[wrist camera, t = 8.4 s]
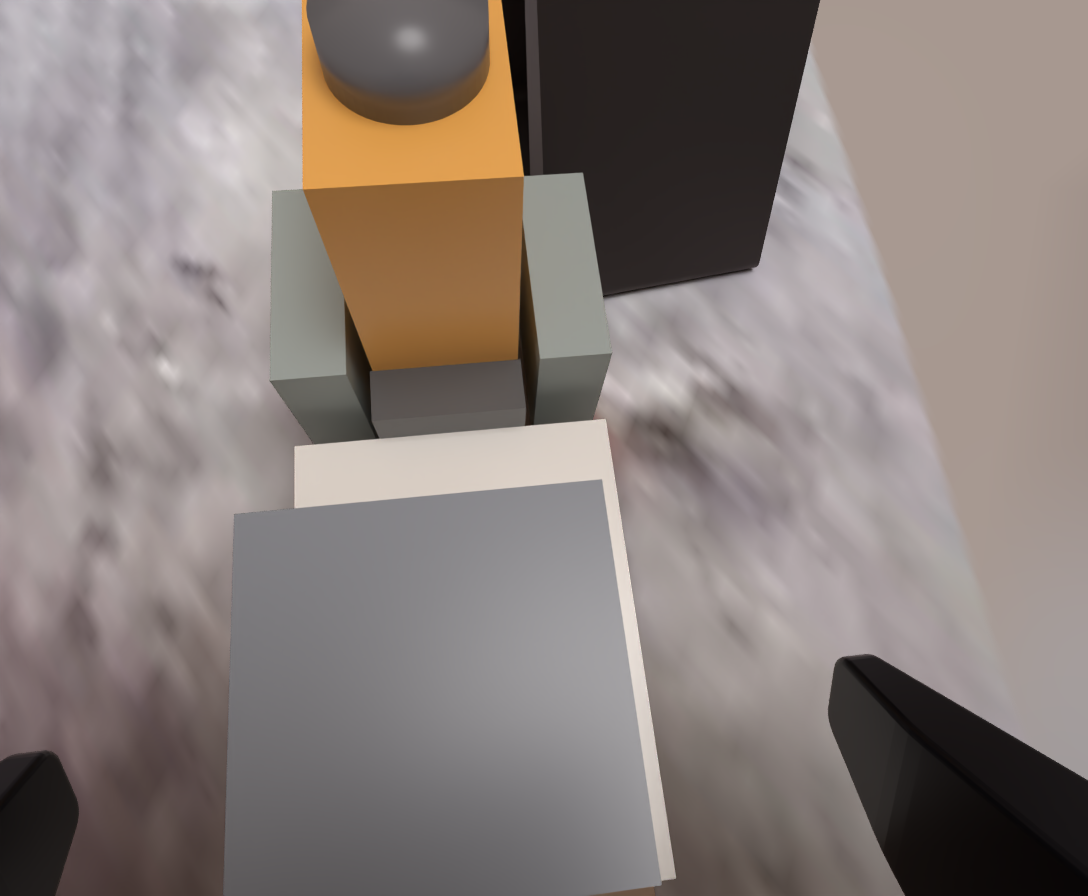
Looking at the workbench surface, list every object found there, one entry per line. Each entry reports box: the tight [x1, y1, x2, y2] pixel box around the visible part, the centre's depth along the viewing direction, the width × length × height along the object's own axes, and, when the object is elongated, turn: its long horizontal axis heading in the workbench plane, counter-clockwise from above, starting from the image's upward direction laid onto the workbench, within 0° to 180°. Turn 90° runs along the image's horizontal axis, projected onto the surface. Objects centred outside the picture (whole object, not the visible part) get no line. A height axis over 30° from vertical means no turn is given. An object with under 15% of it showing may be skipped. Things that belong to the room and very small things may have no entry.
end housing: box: [270, 173, 612, 445], centre depth 16 cm, size 4×6×4 cm, turn 96°
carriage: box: [223, 359, 676, 896], centre depth 10 cm, size 9×6×9 cm, turn 6°
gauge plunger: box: [302, 0, 524, 371], centre depth 13 cm, size 4×3×9 cm
